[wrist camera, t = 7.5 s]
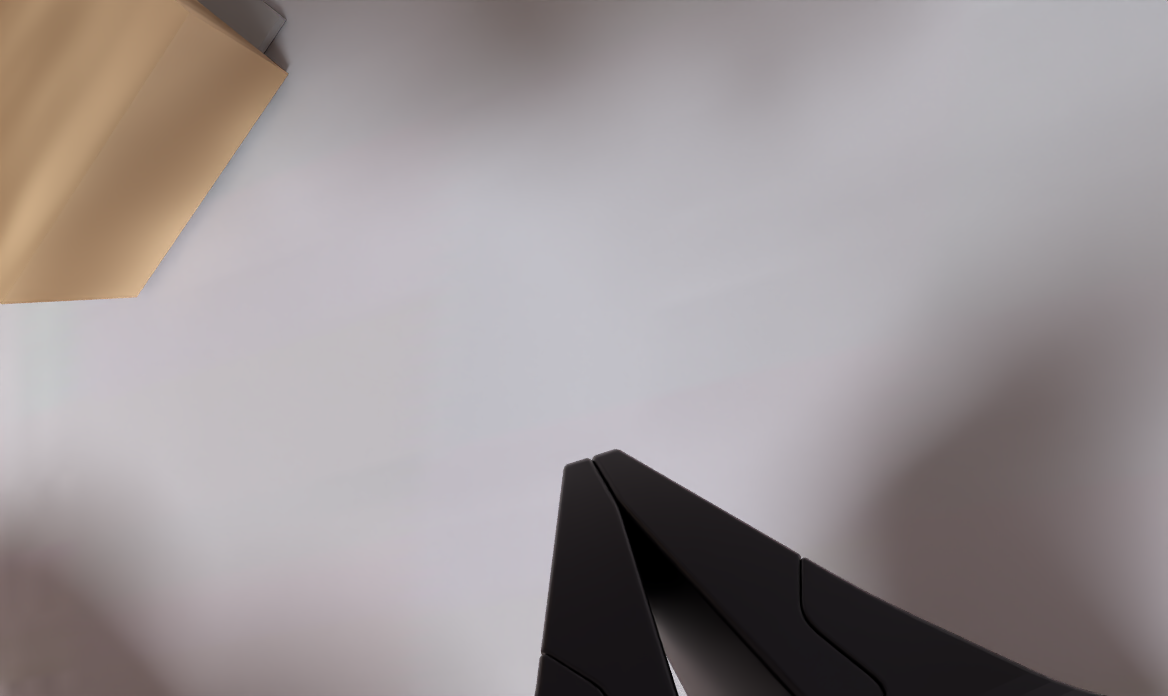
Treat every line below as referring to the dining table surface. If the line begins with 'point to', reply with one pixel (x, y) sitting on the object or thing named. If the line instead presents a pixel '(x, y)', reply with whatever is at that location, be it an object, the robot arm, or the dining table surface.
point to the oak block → (113, 136)
